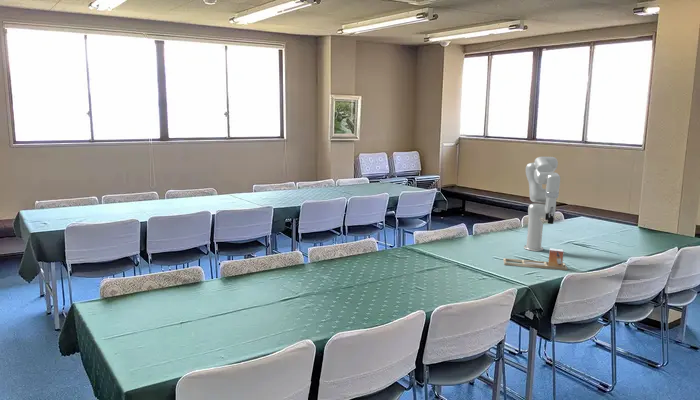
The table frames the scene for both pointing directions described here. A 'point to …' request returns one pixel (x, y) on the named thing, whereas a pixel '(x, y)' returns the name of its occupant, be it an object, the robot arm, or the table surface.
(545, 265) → the rail frame
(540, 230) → the robot arm
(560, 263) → the small box
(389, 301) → the table surface
